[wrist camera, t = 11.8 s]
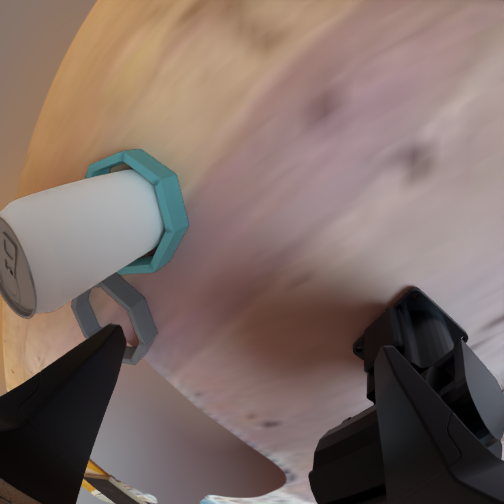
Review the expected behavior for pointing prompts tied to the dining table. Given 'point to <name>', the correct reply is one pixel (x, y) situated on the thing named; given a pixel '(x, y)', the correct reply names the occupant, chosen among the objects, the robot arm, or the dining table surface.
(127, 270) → the socket
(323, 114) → the dining table surface
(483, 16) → the dining table surface
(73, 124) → the dining table surface
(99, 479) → the hardcover book
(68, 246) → the can
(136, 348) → the socket
